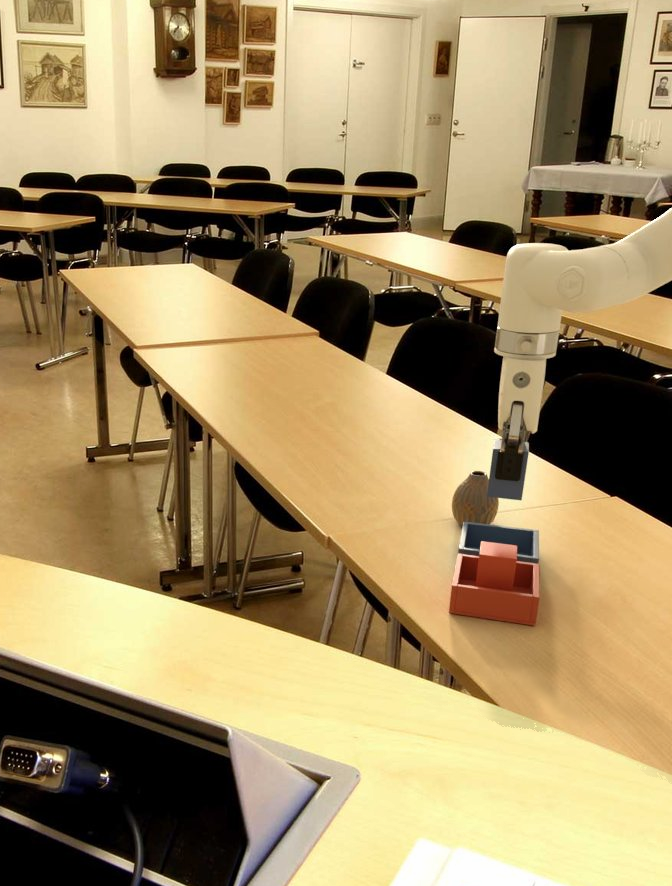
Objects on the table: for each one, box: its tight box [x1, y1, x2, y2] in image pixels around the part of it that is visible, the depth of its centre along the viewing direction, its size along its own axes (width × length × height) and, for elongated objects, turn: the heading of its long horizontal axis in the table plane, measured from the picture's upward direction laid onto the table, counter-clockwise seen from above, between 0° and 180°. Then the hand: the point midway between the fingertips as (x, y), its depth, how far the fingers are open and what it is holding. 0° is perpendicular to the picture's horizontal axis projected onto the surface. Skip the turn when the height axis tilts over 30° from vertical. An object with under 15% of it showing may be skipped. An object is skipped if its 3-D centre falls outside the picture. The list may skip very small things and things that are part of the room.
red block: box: [475, 541, 517, 592], centre depth 119 cm, size 4×4×7 cm
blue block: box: [487, 438, 530, 501], centre depth 125 cm, size 4×4×7 cm
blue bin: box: [457, 522, 540, 564], centre depth 130 cm, size 10×10×4 cm
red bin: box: [448, 553, 540, 627], centre depth 120 cm, size 10×10×4 cm
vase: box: [451, 470, 500, 528], centre depth 143 cm, size 7×7×9 cm
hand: (507, 471), depth 126 cm, fingers closed on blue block, 4 cm apart
